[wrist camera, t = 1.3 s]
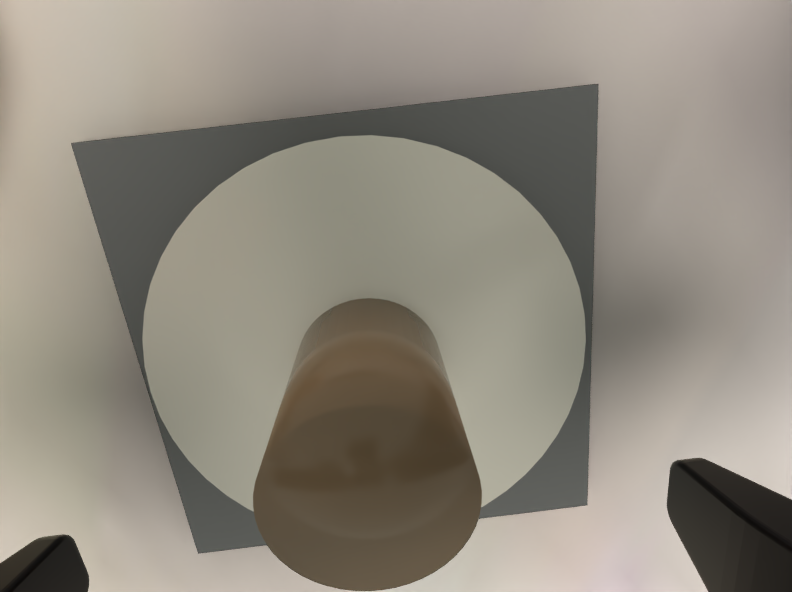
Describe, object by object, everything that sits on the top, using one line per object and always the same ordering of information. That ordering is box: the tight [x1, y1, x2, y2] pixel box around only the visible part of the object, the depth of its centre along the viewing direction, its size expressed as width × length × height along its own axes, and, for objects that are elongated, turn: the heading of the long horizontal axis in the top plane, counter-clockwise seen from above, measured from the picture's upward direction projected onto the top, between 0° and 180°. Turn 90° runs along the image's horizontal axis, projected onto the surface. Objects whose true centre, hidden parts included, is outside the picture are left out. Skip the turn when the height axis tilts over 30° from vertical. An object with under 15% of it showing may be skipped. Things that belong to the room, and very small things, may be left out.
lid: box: [142, 135, 586, 591], centre depth 10 cm, size 11×11×6 cm
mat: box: [71, 84, 598, 554], centre depth 13 cm, size 12×12×1 cm
